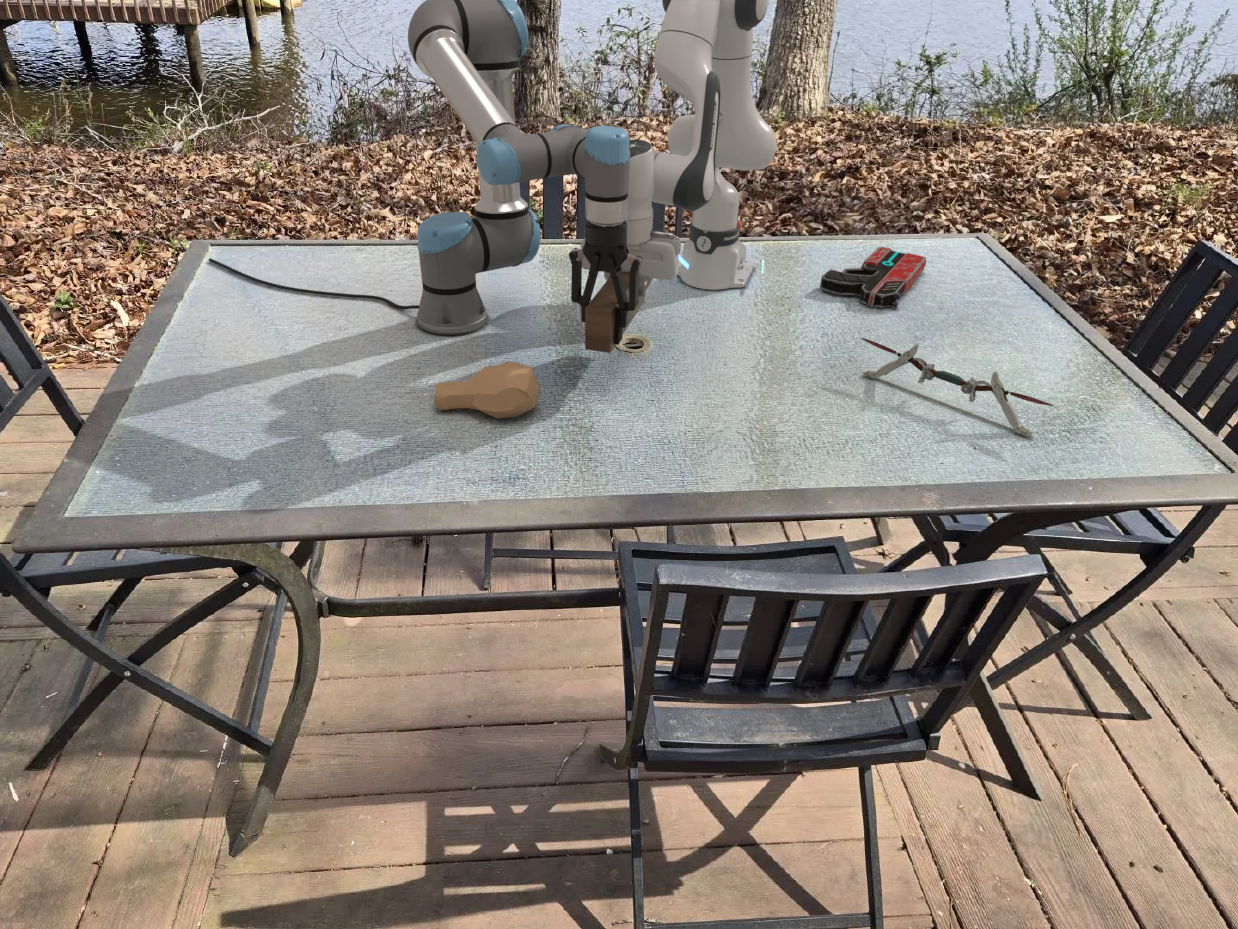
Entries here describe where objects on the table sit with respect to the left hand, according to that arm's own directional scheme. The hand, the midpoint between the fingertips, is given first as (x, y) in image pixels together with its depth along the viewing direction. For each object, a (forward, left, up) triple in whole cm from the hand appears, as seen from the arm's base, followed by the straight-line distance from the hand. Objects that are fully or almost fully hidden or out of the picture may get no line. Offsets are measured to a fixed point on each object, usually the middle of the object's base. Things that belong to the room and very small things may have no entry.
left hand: (604, 339), depth 168 cm
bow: (+50, +44, -10) cm, 67 cm away
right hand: (-9, +15, +3) cm, 17 cm away
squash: (-7, -23, -10) cm, 26 cm away
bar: (-4, +7, -1) cm, 9 cm away
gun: (+7, +88, -10) cm, 89 cm away
